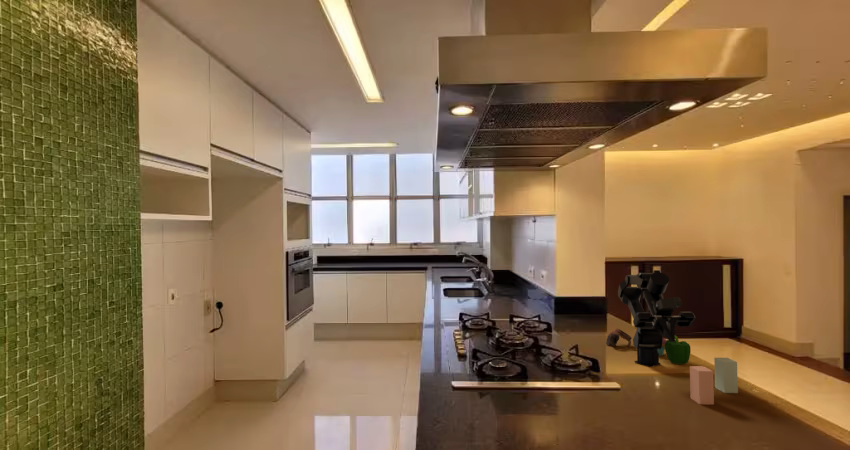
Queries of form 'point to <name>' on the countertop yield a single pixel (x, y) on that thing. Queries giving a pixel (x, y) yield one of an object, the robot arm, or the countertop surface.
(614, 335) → the headphones
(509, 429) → the countertop surface
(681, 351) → the bell pepper
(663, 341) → the cupcake
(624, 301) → the robot arm
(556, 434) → the countertop surface
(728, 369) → the sage block
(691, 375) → the terracotta block
